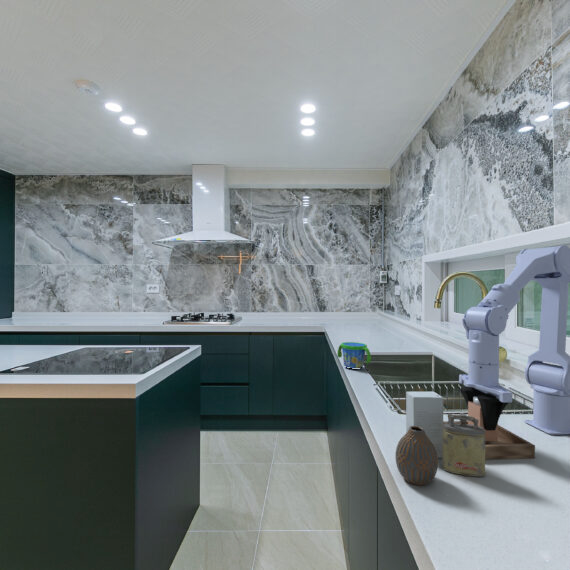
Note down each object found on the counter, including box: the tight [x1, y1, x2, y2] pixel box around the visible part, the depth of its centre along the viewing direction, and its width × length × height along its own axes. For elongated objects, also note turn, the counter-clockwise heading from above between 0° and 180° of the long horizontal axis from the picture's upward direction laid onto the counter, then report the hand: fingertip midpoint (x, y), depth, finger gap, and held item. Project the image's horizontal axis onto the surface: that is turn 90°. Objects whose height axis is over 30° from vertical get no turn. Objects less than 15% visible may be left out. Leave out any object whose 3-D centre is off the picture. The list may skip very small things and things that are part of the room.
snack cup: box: [337, 341, 372, 368], centre depth 146 cm, size 16×10×10 cm
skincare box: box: [405, 391, 444, 459], centre depth 70 cm, size 6×4×12 cm
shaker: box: [467, 396, 499, 441], centre depth 75 cm, size 4×4×8 cm
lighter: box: [441, 413, 486, 478], centre depth 63 cm, size 7×4×10 cm, turn 74°
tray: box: [443, 420, 536, 460], centre depth 75 cm, size 13×13×2 cm
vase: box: [395, 426, 439, 486], centre depth 61 cm, size 7×7×9 cm
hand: (482, 425), depth 75 cm, fingers closed on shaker, 4 cm apart
